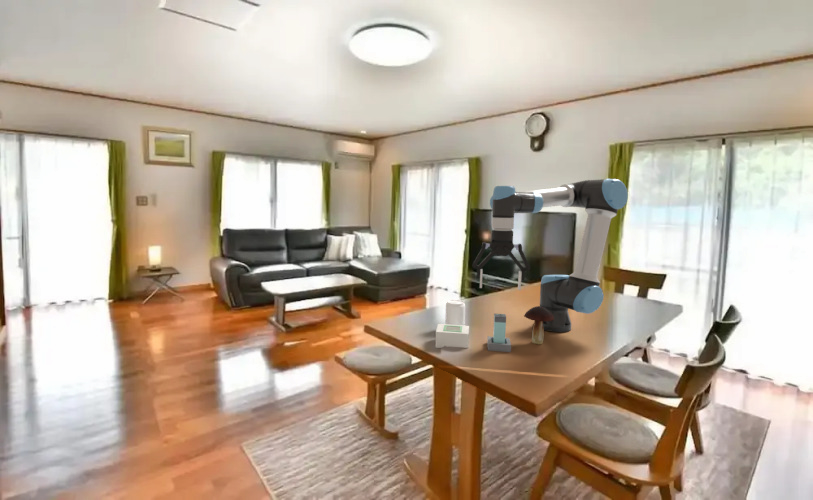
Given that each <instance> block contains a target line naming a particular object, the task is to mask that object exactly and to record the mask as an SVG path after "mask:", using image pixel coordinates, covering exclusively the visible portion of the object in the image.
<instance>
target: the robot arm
mask: <svg viewBox="0 0 813 500" xmlns="http://www.w3.org/2000/svg"><path fill="white" fill-rule="evenodd" d="M628 196H629V194H628V189H627V187H626V185H625V183H624V182H623V181H622V180H620V179H616V178H604V179H591V180H590V179H586V180H581V181H577V182H571V183H567V184H561V185H560V186H558V187H552V188H551V187H550V188H549V187H548V188H541V189H531V190H530V189H528V190H520V191H517V190H516V187H515V186H514V185H497V186H495V187H494V188H493V194H492V196H491V197H490V200H489V207H490V209H492V210H491V211H492V214H491V215H492V218H491V228H492V230H491V237H490V238H491V239H490V240H491V242H490V243H487V242H485V241H483V242H482V245H481V248H480V251H479V252H478V254H477V256H476V258H475V260H473V263H472V265H471V266H472V268H473V269H476V277H477V279H479V289H482V288H483V272H484V271H483V267H484V266H485V265H486V264H487V263H488V262H489V261H490V260H491V258H492V257H494V256H496V257H497V256H498V257H500V256H503V257H507V256H509V257H510V258H511V260H512V261H513V262H514V263H515V264H516V266H517V267H518V268H519V270H518V276H517V277H518V279H517V282H518V283H517V290H518V291H521V290H522V281H525V277H526V276H525V274H526V273H525V272H527V271H530V270H531V266H530V264H529V262H528V260H527V258H526V255H525V253H524V251H523V245H522V243H516V244H514V231H513V229H514V225H515V214H537V213H539V212H541V210H542V209H543V208H549V207H550V208H552V207H558V206H561V207H562V208H569V207H570V208H581V209H582V208H583V209H585V212H586V214H587V218H586V222H585V226H584V231H583V233H582V234H583V235H582V238H581V243H580V247H579V251H578V253H577V254H578V255H577V259H576V264H575V268H574V271H573V272H572V273H571V274H569V275H568V274H544V275H543V276H542V277H541V281H540V284H539V285H540V291H539V293H540V294H539V306H541V307H543V308H545V309H547V310H548V311H550V312H551V313H552V315H553V317H554V320H553V321H543V329H544V331H548V332H554V333H555V332H556V333H566V332H569V331H571V330H572V321H571V317H570V314H569V310H572V311H575V312H577V313H581V314H585V315H587V314H593V313H594V312H596V311H597V310H598V309H599V308H600V307H601V305H602V303H603V301H604V298H605V297H604V292H603V290H602V288H601V287H600V284H601V281H600V280H599V278H598V274H599V270H600V268H601V267H600V265H601V262H602V258H603V253H604V249H605V246H606V242H607V241H606V240H607V237H608V234H609V230H610V225H611V221H612V219H613V218H614V217H616V216H617V215H618V211H619V210H620V209H623V208H624V207H625V206H626V204H627V202H628V199H629V197H628ZM488 248H490V249H491V251H490V252H489V253H488V255H486V257H485V258H483V260H482V261H481V262H480V263H479V261H480V260H481V258H482V256H483V254H484V253H485V251H486V250H488ZM514 248H515V249H516V251H517V252H518V254H519V255H520V258H521V260H522V261H523V265H524V266H523V265H522V264H521V262H520V261H519V260H518V258H517V257H516V256H515V255H514V254H513V252H512V251H513V249H514Z"/></svg>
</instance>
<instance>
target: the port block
mask: <svg viewBox="0 0 813 500" xmlns="http://www.w3.org/2000/svg"><path fill="white" fill-rule="evenodd" d="M469 339H470V325H465V326H464V325H449V324H445V323H438V324H437V327H436V330H435V349H436V348H438V349H439V348H440V349H444V347H448V348H465V349H469V342H470V341H469Z"/></svg>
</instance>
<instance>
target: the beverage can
mask: <svg viewBox="0 0 813 500" xmlns="http://www.w3.org/2000/svg"><path fill="white" fill-rule="evenodd" d="M465 318H466V304H465V301H464V300H459V299H449V300H447V301H446V304H445V322H444V324H449V325H464V326H466V325H465V324H466V323H465V322H466V319H465Z"/></svg>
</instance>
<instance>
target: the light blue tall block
mask: <svg viewBox="0 0 813 500" xmlns="http://www.w3.org/2000/svg"><path fill="white" fill-rule="evenodd" d="M506 328H507V315H506V314H504V313H494V314H493V333H492V334H493V335H492V337H493V343H504V344H505V338H506Z"/></svg>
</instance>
